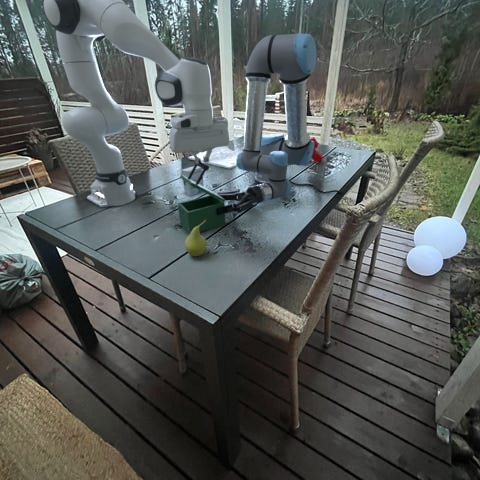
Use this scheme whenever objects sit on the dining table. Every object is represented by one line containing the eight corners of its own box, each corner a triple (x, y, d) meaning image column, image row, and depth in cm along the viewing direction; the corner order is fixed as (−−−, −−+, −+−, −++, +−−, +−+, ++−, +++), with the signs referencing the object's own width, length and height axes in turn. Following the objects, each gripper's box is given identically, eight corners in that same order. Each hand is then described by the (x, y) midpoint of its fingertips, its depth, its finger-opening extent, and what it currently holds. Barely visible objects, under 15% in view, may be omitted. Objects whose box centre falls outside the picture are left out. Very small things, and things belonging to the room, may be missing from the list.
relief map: (229, 168, 161) (229, 160, 158) (188, 158, 179) (187, 150, 176) (255, 158, 179) (255, 150, 177) (215, 150, 197) (215, 142, 194)
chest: (190, 235, 99) (187, 212, 94) (180, 224, 105) (177, 203, 100) (225, 224, 105) (224, 202, 100) (214, 214, 112) (212, 194, 107)
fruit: (184, 250, 90) (179, 218, 83) (206, 245, 92) (203, 214, 86) (188, 261, 85) (184, 228, 78) (211, 256, 87) (209, 223, 80)
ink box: (198, 188, 136) (196, 165, 129) (204, 191, 133) (202, 167, 126) (184, 193, 131) (181, 169, 124) (190, 196, 128) (187, 171, 121)
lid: (190, 185, 89) (203, 162, 88) (179, 177, 96) (191, 155, 94) (223, 202, 100) (235, 182, 99) (212, 194, 107) (222, 174, 105)
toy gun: (326, 157, 168) (314, 136, 164) (326, 159, 164) (313, 137, 160) (301, 172, 178) (289, 153, 174) (300, 174, 174) (287, 154, 170)
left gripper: (222, 114, 92) (224, 155, 100) (164, 120, 83) (171, 164, 91) (232, 117, 88) (233, 160, 95) (172, 123, 79) (177, 169, 86)
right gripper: (244, 177, 119) (197, 188, 109) (275, 194, 104) (224, 208, 94) (244, 193, 123) (199, 205, 113) (274, 212, 108) (225, 227, 98)
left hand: (202, 162), depth 93 cm, fingers closed
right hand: (210, 206), depth 103 cm, fingers closed on chest, 9 cm apart
